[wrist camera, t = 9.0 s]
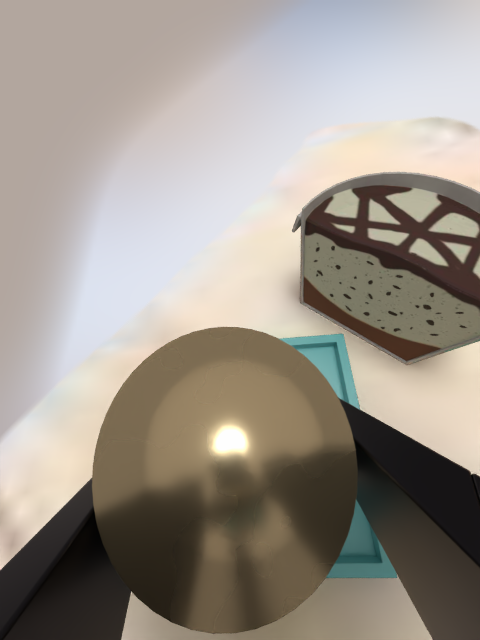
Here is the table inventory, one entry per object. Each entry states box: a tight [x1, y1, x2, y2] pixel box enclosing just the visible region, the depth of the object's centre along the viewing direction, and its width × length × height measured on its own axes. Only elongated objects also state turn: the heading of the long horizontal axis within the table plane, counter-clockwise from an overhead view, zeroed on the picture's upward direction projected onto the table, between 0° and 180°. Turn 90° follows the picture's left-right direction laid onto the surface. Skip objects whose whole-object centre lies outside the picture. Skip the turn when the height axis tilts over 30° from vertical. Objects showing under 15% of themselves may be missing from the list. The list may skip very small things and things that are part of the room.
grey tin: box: [92, 327, 358, 633], centre depth 9 cm, size 5×5×9 cm
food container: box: [292, 172, 480, 365], centre depth 18 cm, size 12×6×10 cm, turn 52°
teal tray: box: [280, 334, 397, 578], centre depth 18 cm, size 14×14×2 cm
